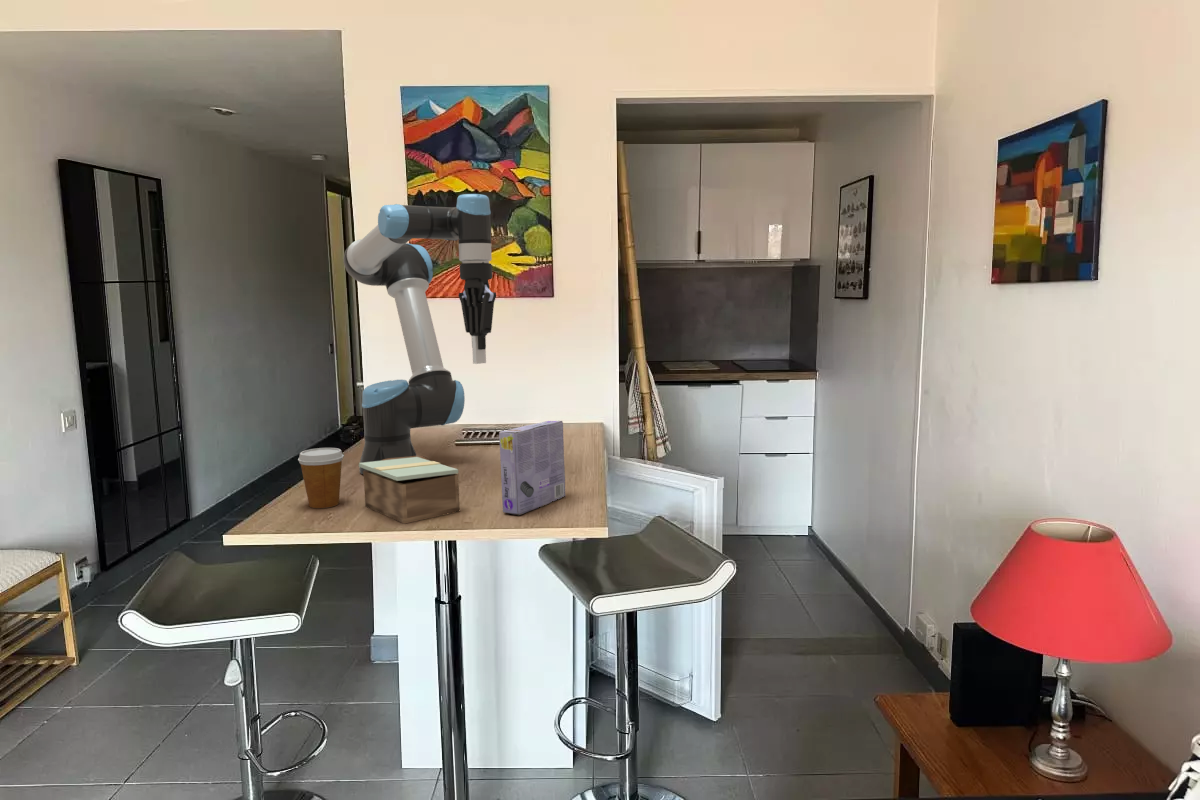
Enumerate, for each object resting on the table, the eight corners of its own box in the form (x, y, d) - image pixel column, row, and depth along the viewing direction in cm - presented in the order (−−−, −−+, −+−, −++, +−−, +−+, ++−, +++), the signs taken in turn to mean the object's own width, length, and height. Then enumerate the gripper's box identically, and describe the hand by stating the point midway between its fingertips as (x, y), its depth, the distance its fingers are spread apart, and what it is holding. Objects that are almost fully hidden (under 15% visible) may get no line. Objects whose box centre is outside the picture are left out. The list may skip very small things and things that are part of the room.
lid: (358, 466, 171) (358, 462, 171) (417, 460, 181) (417, 456, 181) (397, 480, 158) (397, 475, 158) (458, 473, 167) (458, 468, 167)
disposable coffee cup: (311, 499, 180) (307, 447, 179) (352, 498, 180) (349, 447, 178) (294, 510, 171) (290, 456, 169) (337, 510, 171) (334, 455, 169)
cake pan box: (551, 493, 182) (549, 417, 180) (569, 495, 180) (568, 419, 177) (499, 514, 166) (496, 431, 163) (519, 517, 163) (516, 433, 161)
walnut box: (365, 506, 173) (363, 470, 172) (418, 495, 182) (417, 461, 181) (403, 523, 160) (401, 485, 159) (459, 511, 168) (458, 474, 167)
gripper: (504, 261, 182) (508, 363, 186) (474, 263, 192) (478, 360, 195) (477, 261, 177) (480, 366, 181) (447, 263, 187) (451, 362, 190)
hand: (479, 363), depth 188 cm, fingers closed
